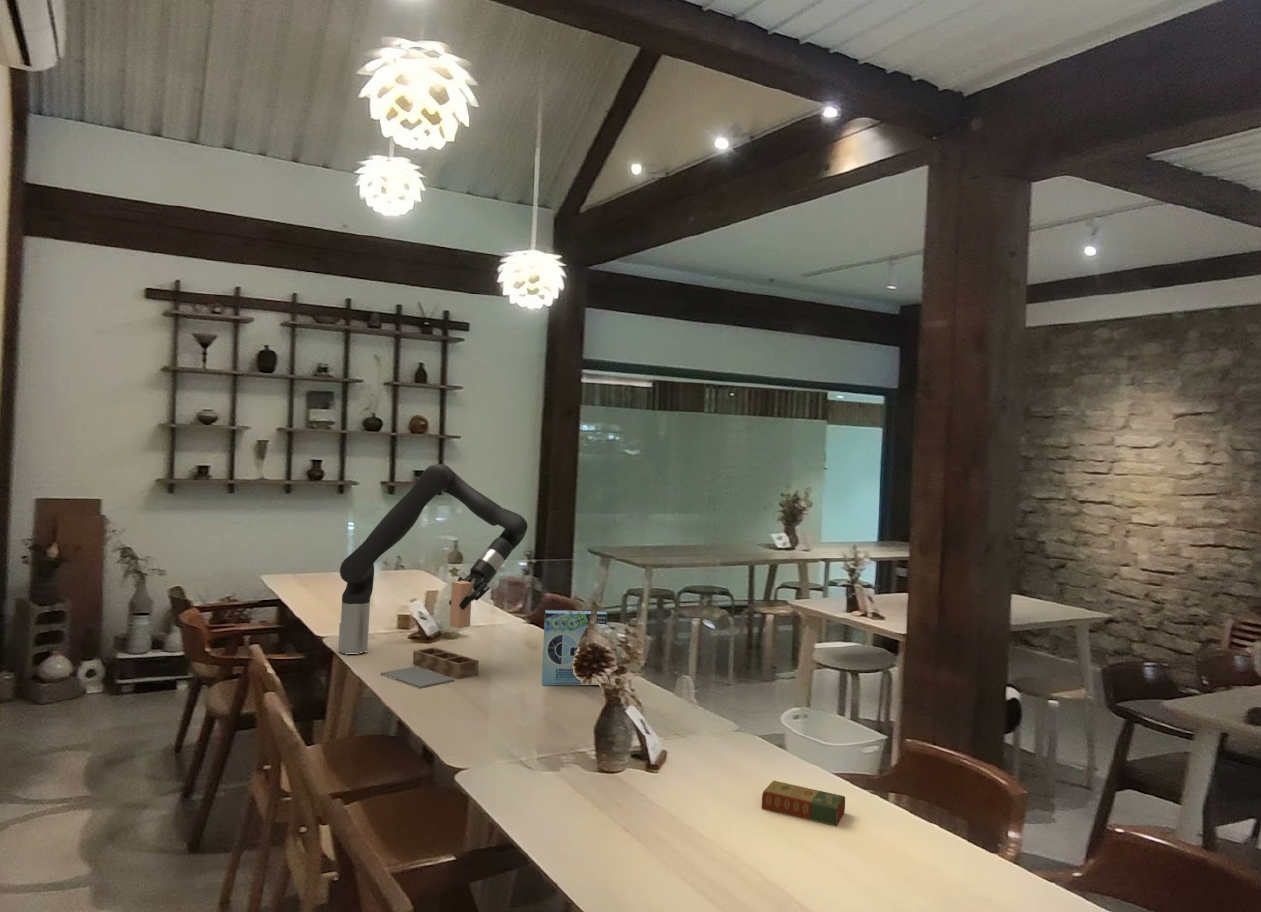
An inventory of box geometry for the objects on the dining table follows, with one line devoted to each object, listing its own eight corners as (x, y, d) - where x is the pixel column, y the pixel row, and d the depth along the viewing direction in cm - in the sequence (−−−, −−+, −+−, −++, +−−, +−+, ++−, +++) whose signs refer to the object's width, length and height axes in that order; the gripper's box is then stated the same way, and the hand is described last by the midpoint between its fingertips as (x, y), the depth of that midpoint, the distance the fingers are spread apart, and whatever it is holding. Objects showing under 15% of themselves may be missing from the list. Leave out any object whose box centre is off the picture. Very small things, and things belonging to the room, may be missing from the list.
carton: (772, 798, 199) (773, 778, 199) (845, 814, 193) (846, 794, 193) (760, 810, 192) (762, 790, 192) (836, 828, 185) (837, 807, 185)
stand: (412, 664, 297) (413, 650, 297) (433, 660, 303) (434, 647, 303) (457, 678, 282) (457, 664, 282) (477, 674, 288) (478, 660, 288)
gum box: (602, 682, 287) (606, 610, 287) (604, 687, 282) (608, 613, 281) (541, 681, 284) (544, 609, 284) (541, 686, 279) (545, 612, 279)
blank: (449, 625, 287) (452, 581, 287) (460, 624, 291) (463, 580, 290) (458, 628, 284) (461, 583, 284) (469, 626, 288) (472, 582, 287)
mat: (380, 674, 282) (380, 672, 282) (415, 668, 292) (415, 666, 292) (419, 688, 269) (419, 686, 269) (454, 681, 279) (454, 679, 279)
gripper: (467, 555, 297) (435, 595, 288) (496, 561, 288) (464, 602, 279) (478, 570, 302) (447, 610, 293) (507, 576, 292) (476, 617, 283)
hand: (456, 606), depth 286 cm, fingers closed on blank, 4 cm apart
